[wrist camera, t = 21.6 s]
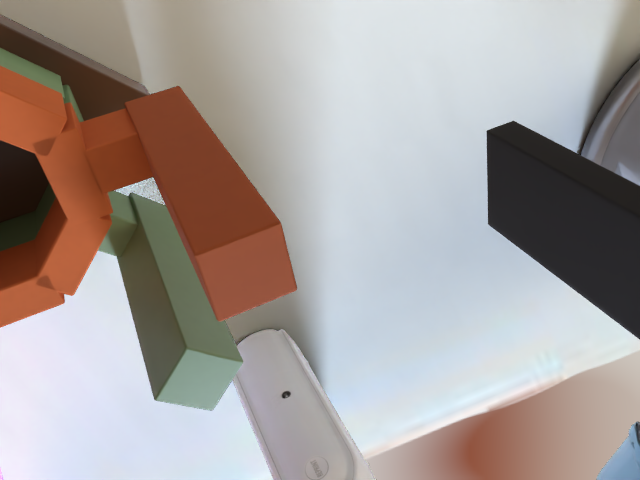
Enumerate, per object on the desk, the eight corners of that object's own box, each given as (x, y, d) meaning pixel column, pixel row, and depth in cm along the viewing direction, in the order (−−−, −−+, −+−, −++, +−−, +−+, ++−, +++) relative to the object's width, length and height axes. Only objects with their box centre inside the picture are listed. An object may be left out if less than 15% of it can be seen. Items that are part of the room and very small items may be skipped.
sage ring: (-210, 213, 21) (-353, 437, 13) (-124, -11, 19) (-230, 84, 11) (120, 302, 28) (165, 486, 20) (208, 145, 26) (299, 276, 18)
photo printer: (213, 351, 33) (294, 550, 24) (282, 312, 34) (389, 492, 24) (276, 452, 40) (361, 643, 30) (334, 418, 40) (436, 594, 31)
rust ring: (-102, 323, 22) (-173, 604, 14) (-273, 103, 17) (-544, 330, 9) (218, 208, 25) (320, 381, 16) (149, -10, 20) (246, 82, 12)
